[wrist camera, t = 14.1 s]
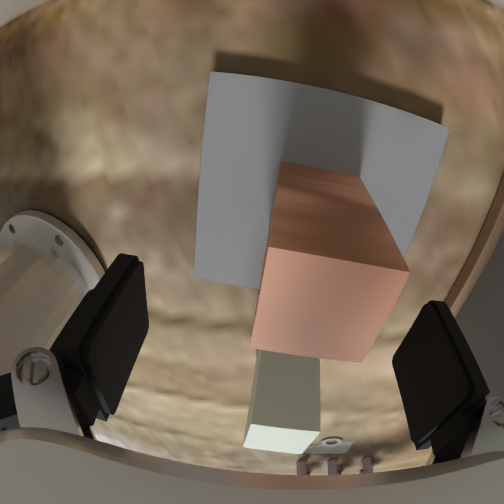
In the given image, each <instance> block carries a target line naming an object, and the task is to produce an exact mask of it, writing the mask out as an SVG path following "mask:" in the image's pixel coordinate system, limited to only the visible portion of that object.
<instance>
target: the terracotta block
mask: <svg viewBox="0 0 504 504" xmlns="http://www.w3.org/2000/svg"><path fill="white" fill-rule="evenodd" d="M409 274H410V271H409V269H408V267H407V264H406V262H405V260H404V258H403V256H402V254H401V252H400V250H399V248H398V246H397V244H396V242H395V240H394V238H393V236H392V234H391V232H390V230H389V228H388V226H387V225H386V223H385V221H384V219H383V217H382V215H381V213H380V212H379V210H378V208H377V206H376V204H375V203H374V201H373V199H372V197H371V195H370V194H369V192H368V190H367V189H366V187H365V185H364V183H363V182H362V180H361V178H360V177H357V176H352V175H348V174H343V173H339V172H334V171H329V170H325V169H320V168H315V167H310V166H305V165H299V164H294V163H289V162H283V161H281V163H280V169H279V175H278V181H277V187H276V192H275V198H274V204H273V209H272V215H271V221H270V226H269V232H268V238H267V245H266V251H265V257H264V263H263V269H262V275H261V281H260V287H259V293H258V299H257V305H256V311H255V317H254V323H253V329H252V335H251V341H250V347H249V348H254V349H260V350H266V351H272V352H279V353H286V354H292V355H299V356H307V357H315V358H323V359H331V360H340V361H350V362H360V363H362V362H363V360H364V358H365V357H366V355H367V353H368V352H369V350H370V348H371V346H372V345H373V343H374V341H375V339H376V338H377V336H378V334H379V332H380V331H381V329H382V327H383V325H384V323H385V322H386V320H387V318H388V316H389V314H390V312H391V310H392V308H393V306H394V304H395V303H396V301H397V299H398V297H399V295H400V293H401V291H402V289H403V286H404V284H405V282H406V280H407V278H408V276H409Z"/></svg>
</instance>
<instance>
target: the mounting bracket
mask: <svg viewBox="0 0 504 504" xmlns="http://www.w3.org/2000/svg"><path fill="white" fill-rule="evenodd" d="M329 440H336V441H337V442H334V443H327V441H329ZM342 441H343V439H342V438H340V437H328V438H324V439H322V440H321V444H322V445H313V446H308V447H307V448H306V450H305V453H309V454H341V453H346V452H347V451H348V450H349V448H350V447H351V445H352V444H353V442H354V441H350V442H342Z"/></svg>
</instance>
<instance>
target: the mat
mask: <svg viewBox="0 0 504 504" xmlns="http://www.w3.org/2000/svg"><path fill="white" fill-rule="evenodd" d="M448 132H449V128H448V127H446V126H443V125H441V124H439V123H436V122H434V121H431V120H428V119H426V118H423V117H420V116H418V115H415V114H412V113H409V112H406V111H403V110H400V109H397V108H394V107H391V106H388V105H385V104H382V103H378V102H375V101H372V100H368V99H365V98H361V97H357V96H354V95H350V94H346V93H342V92H338V91H334V90H330V89H325V88H321V87H316V86H311V85H306V84H301V83H296V82H291V81H285V80H279V79H273V78H266V77H259V76H252V75H244V74H235V73H225V72H210V78H209V86H208V94H207V103H206V112H205V122H204V132H203V142H202V154H201V165H200V178H199V192H198V207H197V224H196V243H195V266H194V277H195V278H200V279H205V280H210V281H215V282H220V283H225V284H230V285H236V286H241V287H246V288H252V289H257V290H259V287H260V281H261V275H262V269H263V263H264V257H265V251H266V245H267V238H268V232H269V226H270V221H271V215H272V209H273V204H274V198H275V192H276V187H277V181H278V175H279V169H280V163H281V161H283V162H289V163H294V164H299V165H305V166H310V167H315V168H320V169H325V170H329V171H334V172H339V173H343V174H348V175H352V176H357V177H360V178H361V180H362V182H363V183H364V185H365V187H366V189H367V190H368V192H369V194H370V195H371V197H372V199H373V201H374V203H375V204H376V206H377V208H378V210H379V212H380V213H381V215H382V217H383V219H384V221H385V223H386V225H387V226H388V228H389V230H390V232H391V234H392V236H393V238H394V240H395V242H396V244H397V246H398V248H399V250H400V252H401V254H402V256H403V258H404V256H405V254H406V252H407V249H408V247H409V245H410V242H411V240H412V237H413V235H414V232H415V230H416V227H417V225H418V222H419V220H420V217H421V215H422V212H423V209H424V207H425V204H426V201H427V198H428V196H429V193H430V190H431V187H432V184H433V181H434V178H435V175H436V172H437V169H438V166H439V163H440V159H441V156H442V153H443V149H444V146H445V142H446V139H447V135H448Z"/></svg>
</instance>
